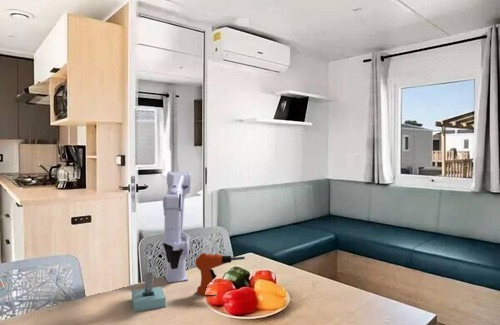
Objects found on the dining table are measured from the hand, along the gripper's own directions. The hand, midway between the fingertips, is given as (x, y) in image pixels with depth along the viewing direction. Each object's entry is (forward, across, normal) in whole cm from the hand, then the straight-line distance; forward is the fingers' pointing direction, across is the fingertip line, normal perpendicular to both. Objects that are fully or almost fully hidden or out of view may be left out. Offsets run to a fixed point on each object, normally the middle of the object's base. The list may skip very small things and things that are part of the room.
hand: (172, 265), depth 127 cm
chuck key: (+10, +4, -9) cm, 14 cm away
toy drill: (+11, +6, +16) cm, 20 cm away
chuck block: (+10, +4, -9) cm, 14 cm away
